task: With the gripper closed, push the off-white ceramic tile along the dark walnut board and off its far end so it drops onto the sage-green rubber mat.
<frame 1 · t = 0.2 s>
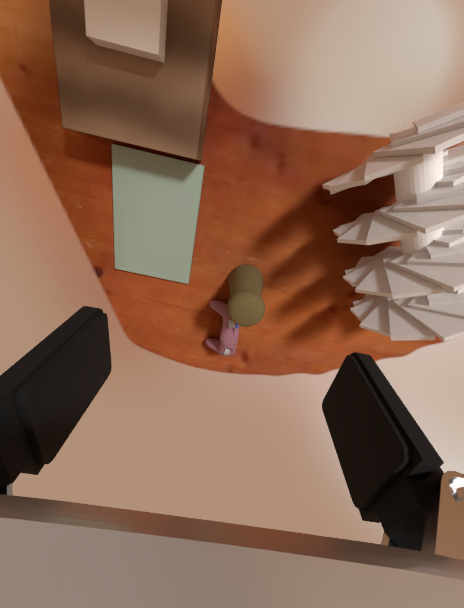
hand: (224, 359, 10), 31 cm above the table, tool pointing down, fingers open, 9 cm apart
cork: (245, 280, 42), on the table
mat: (155, 222, 37), on the table
board: (145, 45, 28), on the table
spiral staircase: (382, 227, 36), on the table
video game controller: (223, 321, 46), on the table
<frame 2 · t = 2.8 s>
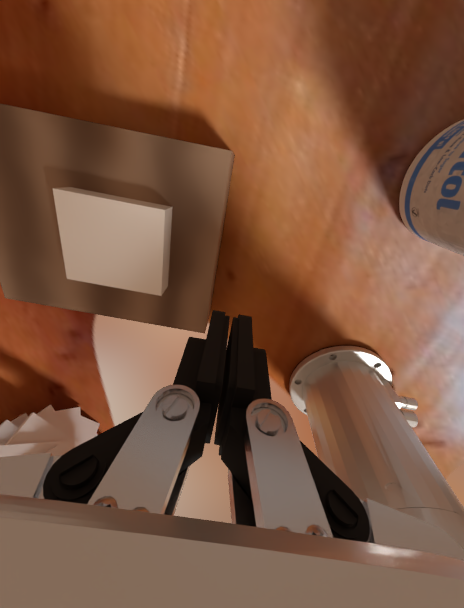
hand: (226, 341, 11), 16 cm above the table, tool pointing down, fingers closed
board: (121, 227, 24), on the table
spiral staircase: (53, 429, 41), on the table
supplement tub: (450, 185, 21), on the table
tile: (123, 241, 21), point 4 cm above the table, touching board
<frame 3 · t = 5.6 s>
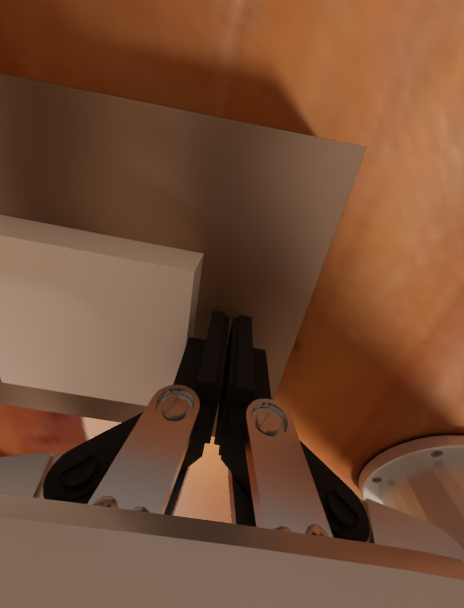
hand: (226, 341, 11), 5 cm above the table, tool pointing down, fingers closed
board: (121, 275, 15), on the table
tile: (108, 310, 11), point 4 cm above the table, touching board, gripper
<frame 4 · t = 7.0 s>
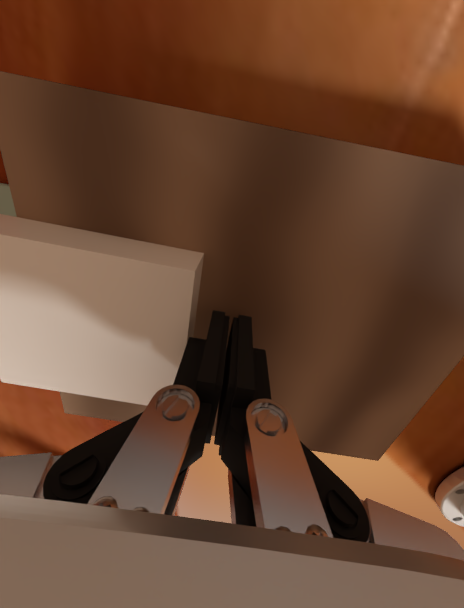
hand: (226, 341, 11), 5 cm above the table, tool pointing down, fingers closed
board: (250, 297, 15), on the table
tile: (108, 309, 11), point 4 cm above the table, touching gripper
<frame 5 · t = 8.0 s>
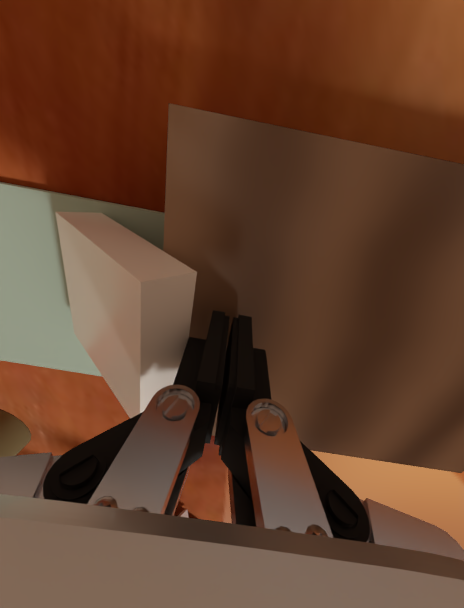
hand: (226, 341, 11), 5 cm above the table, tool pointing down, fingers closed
mat: (29, 290, 15), on the table
board: (339, 312, 15), on the table
tile: (138, 306, 12), point 3 cm above the table, tilted 42°, touching mat
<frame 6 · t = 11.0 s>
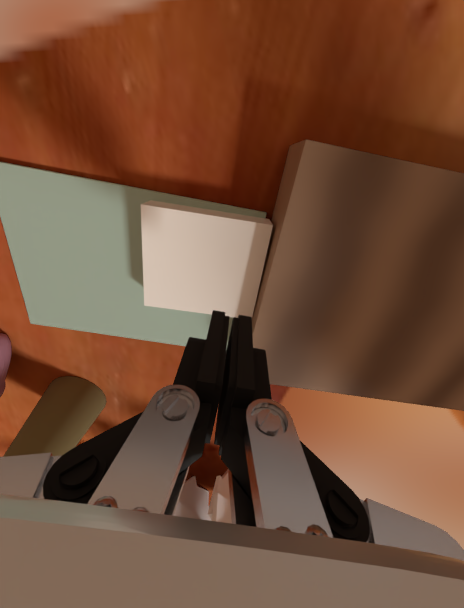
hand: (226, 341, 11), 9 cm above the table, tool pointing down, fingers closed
cork: (78, 394, 27), on the table
mat: (135, 273, 19), on the table
board: (381, 288, 19), on the table
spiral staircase: (184, 486, 36), on the table
tile: (206, 259, 18), resting on mat
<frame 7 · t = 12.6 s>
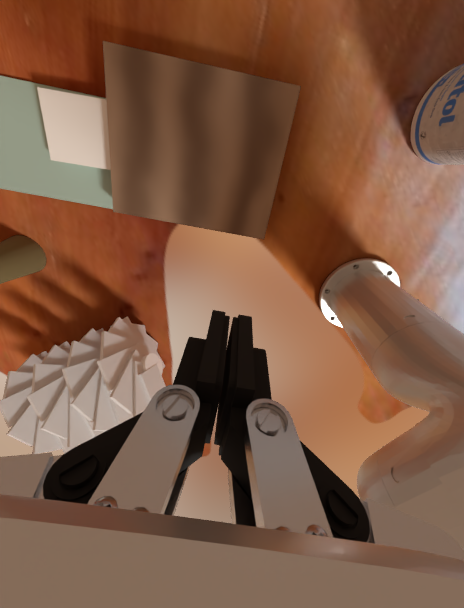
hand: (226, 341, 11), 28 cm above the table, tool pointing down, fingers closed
cork: (27, 253, 39), on the table
mat: (49, 146, 32), on the table
board: (200, 157, 32), on the table
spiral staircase: (116, 351, 49), on the table
supplement tub: (447, 120, 29), on the table
tile: (88, 133, 30), resting on mat
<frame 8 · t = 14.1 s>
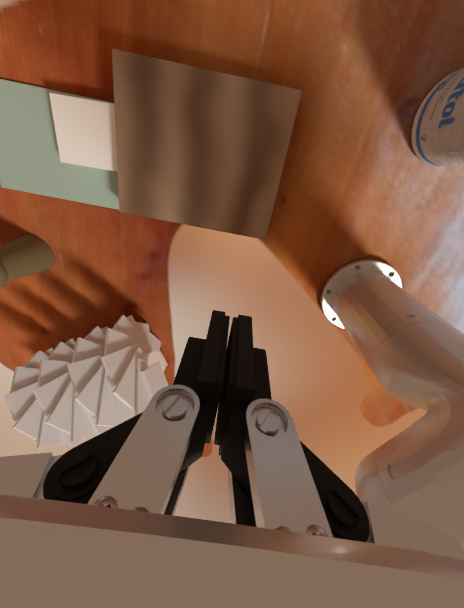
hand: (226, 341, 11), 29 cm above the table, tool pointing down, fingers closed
cork: (36, 252, 40), on the table
mat: (59, 149, 33), on the table
board: (204, 159, 33), on the table
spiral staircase: (120, 349, 49), on the table
supplement tub: (448, 122, 30), on the table
tile: (96, 137, 32), resting on mat
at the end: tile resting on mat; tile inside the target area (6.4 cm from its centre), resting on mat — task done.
